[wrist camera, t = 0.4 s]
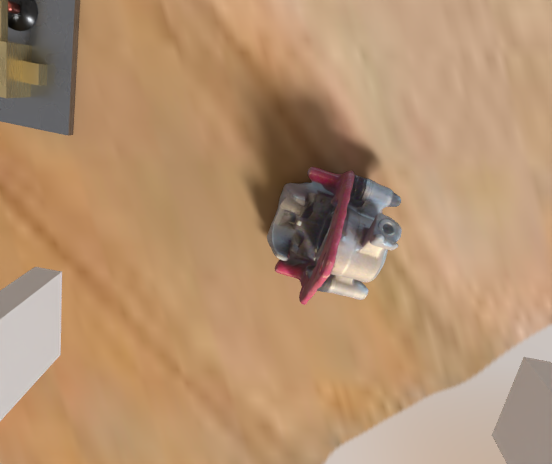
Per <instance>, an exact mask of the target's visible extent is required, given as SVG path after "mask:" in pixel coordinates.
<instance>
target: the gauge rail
mask: <svg viewBox="0 0 552 464" xmlns="http://www.w3.org/2000/svg"><path fill="white" fill-rule="evenodd" d="M8 12H10V13H14V14H18V13H19V12H20V6H19V5H18V4H17V3H15V2H12V1H8V0H0V97H3V98H23V97H31V84H34V85H47V65H45V64H41V63H36V62H31V61H32V46H30V45H25V44H21V43H16V42H11V41H8Z"/></svg>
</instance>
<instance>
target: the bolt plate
mask: <svg viewBox="0 0 552 464" xmlns="http://www.w3.org/2000/svg"><path fill="white" fill-rule="evenodd" d="M8 1H12V2H15V3H17V4H18V5H19V6H20V12H19V13H18V14H14V13H10V12H8V41H11V42H16V43H21V44H25V45H30V46H32V61H31V62H36V63H41V64H45V65H47V85H34V84H31V97H23V98H3V97H0V121H1V122H6V123H11V124H16V125H21V126H25V127H30V128H35V129H40V130H45V131H49V132H54V133H59V134H64V135H73V125H74V106H75V87H76V68H77V49H78V29H79V10H80V0H8Z"/></svg>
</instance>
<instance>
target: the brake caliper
mask: <svg viewBox="0 0 552 464" xmlns="http://www.w3.org/2000/svg"><path fill="white" fill-rule="evenodd" d="M308 176H309V178H310V179H311V180H312V183H307V182H305V183H301V184H296V183H288V184H286V185H285V186H284V188H283V191H282V193H281V196H280V199H279V205H278V209H277V212H276V215H275V217H274V219H273V222H272V224H271V227H270V229H269V232H268V235H267V240H268V243H269V245H270V247H271V248H272V251H273V253H274V255H275V256H276V257H277V258H279V259H280V260H279V261H278V263H277V264H276V266H275V271H276V272H278V273H280V274H284V275H287V276H291V277H295V278H297V279H299V280H300V282H301V285H302V289H301V291H300V297H299V298H300V302H301V303H302V304H306V303H307V302H308V301H309V299H310V298H311V297H312V296H313V295H314V294H315V292H316V291H317V290H318V291H322V292H329V293H334V294H338V295H341V296H347V297H351V298H355V299H359V300H362V299H364V298H365V297H366V296H367V294H368V288H367V287H366V286H365V285H364V284H363V283H362V282H370V281H372V280H374V279H375V278H376V277H377V275H378V273H379V272H380V270H381V269H382V267H383V265H384V262H385V259H386V255H387V251H388V250H394V249H396V248H397V247H398V244H397V243H396V242H397V241H398V240H399V239H400V237H401V227H400V226H399V224H398V223H396V222H395V221H394V220H392V219H391V218H390V217H388V216H386V215H384V214H382V209H383V208H385V207H397V206H399V205H400V203H401V199H400V197H399V196H398V195H396V194H395V193H394V192H393V191H392V190H391V189H389V188H387V187H385V186H382V185H379V184H378V183H376V182H374V181H372V180H370V179H367V178H363V177H359V176H357V175H355V174H354V172H353V171H347V172H345V173H342V174H335V173H331V172H327V171H325V170H322V169H319V168H316V167H311V168H309V170H308Z"/></svg>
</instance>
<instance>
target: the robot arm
mask: <svg viewBox="0 0 552 464" xmlns="http://www.w3.org/2000/svg"><path fill="white" fill-rule="evenodd" d="M61 295H62V272H60V271H55V270H50V269H44V268H39V267H34V268H33V269H31V270H30V271H28V272H27V273H25V274H24V275H22V276H21V277H19V278H18V279H17V280H15V281H14V282H12V283H11V284H9V285H8V286H6V287H5V288H3V289H2V290H0V421H1V420H2V419H3V418H4V416H5V415H6V414H7V413H8V412H9V411H10V410H11V409H12V408H13V407H14V405H15V404H16V403H17V402H18V401H19V400H20V399H21V398H22V397H23V395H24V394H25V393H26V392H27V391H28V390H29V389H30V388H31V387H32V386H33V384H34V383H35V382H36V381H37V380H38V379H39V378H40V377H41V376H42V375H43V373H44V372H45V371H46V370H47V369H48V368H49V367H50V366H51V365H52V364H53V362H54V361H55V360H56V359H57V358H58V357H59V356H60V352H61ZM492 436H493V438H494V440H495V442H496V444H497V446H498V448H499V450H500V451H501V453H502V455H503V457H504V459H505V461H506V463H507V464H552V363H551V362H547V361H542V360H537V359H531V358H526V357H524V358H523V360H522V363H521V365H520V368H519V370H518V373H517V375H516V377H515V380H514V382H513V385H512V387H511V390H510V392H509V394H508V397H507V399H506V402H505V404H504V407H503V409H502V412H501V414H500V417H499V419H498V422H497V424H496V426H495V429H494V431H493V434H492Z"/></svg>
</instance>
